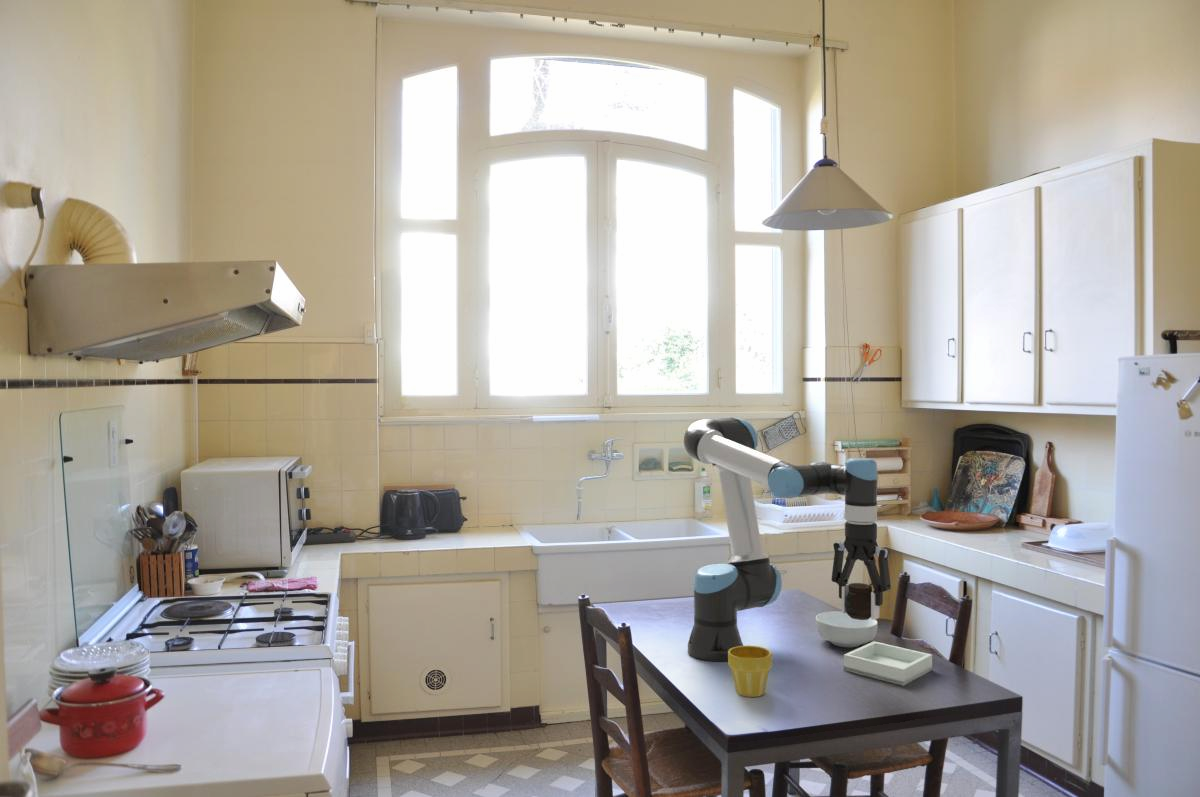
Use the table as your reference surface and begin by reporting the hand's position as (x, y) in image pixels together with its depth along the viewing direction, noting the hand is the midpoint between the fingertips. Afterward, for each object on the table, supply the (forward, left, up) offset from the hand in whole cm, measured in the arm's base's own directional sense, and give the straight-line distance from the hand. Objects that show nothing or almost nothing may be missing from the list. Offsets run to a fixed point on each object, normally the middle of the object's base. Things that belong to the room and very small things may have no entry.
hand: (860, 615), depth 209 cm
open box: (+14, 0, -17) cm, 22 cm away
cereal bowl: (+27, +19, -17) cm, 38 cm away
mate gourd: (0, 0, -1) cm, 1 cm away
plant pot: (-24, +16, -17) cm, 33 cm away
